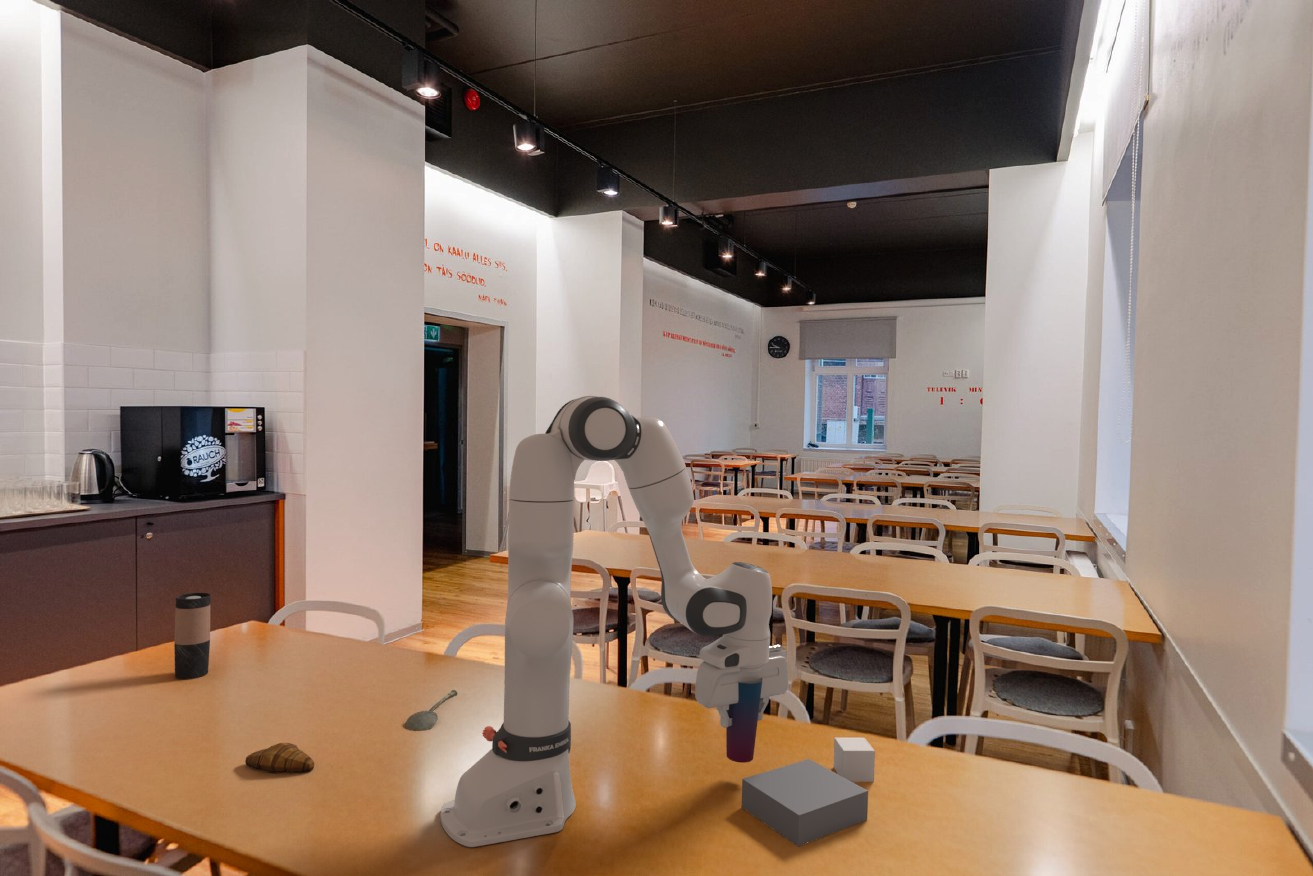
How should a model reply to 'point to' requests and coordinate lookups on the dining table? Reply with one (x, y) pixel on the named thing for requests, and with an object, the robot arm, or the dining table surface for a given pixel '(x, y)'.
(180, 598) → the travel mug
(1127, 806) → the dining table surface
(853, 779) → the white cube
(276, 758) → the croissant
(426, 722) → the soupspoon
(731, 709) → the cup
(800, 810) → the plinth
